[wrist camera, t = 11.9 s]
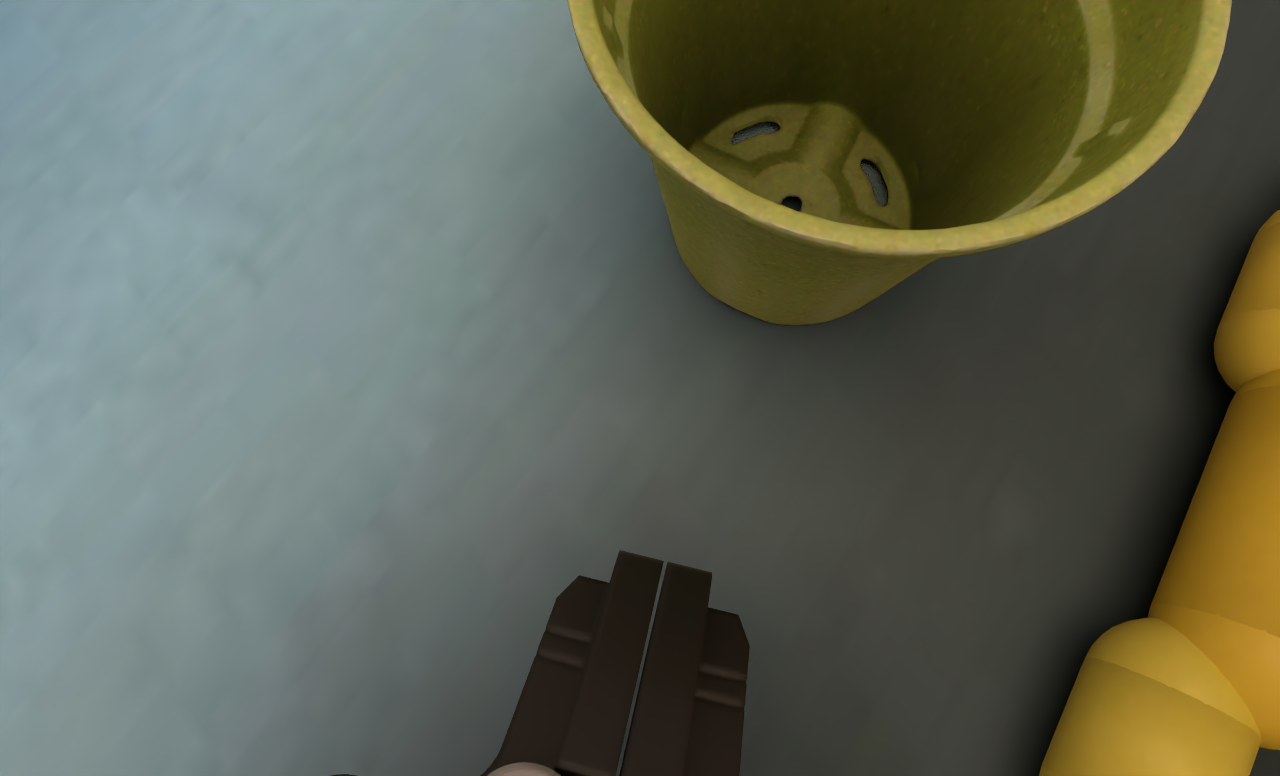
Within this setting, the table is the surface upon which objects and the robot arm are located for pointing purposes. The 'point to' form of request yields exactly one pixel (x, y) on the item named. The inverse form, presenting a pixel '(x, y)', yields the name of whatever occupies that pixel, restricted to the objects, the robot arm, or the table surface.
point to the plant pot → (889, 126)
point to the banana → (1203, 589)
